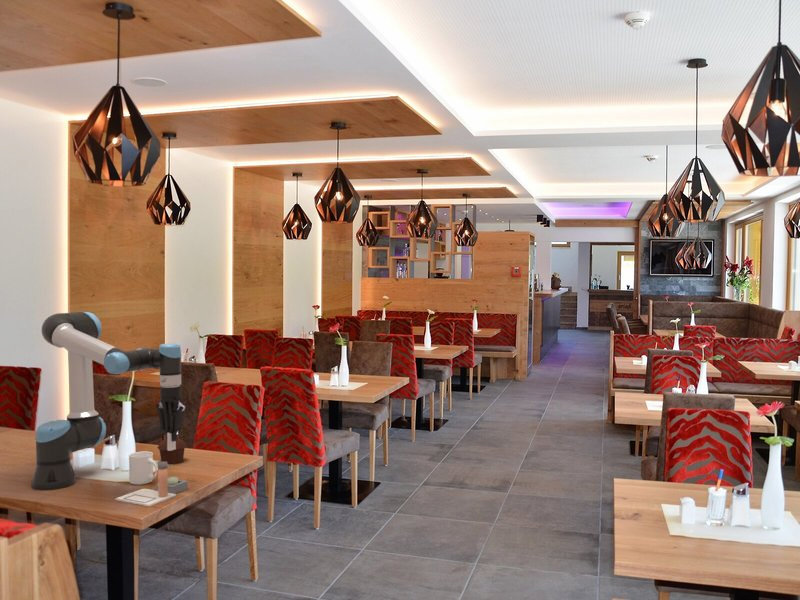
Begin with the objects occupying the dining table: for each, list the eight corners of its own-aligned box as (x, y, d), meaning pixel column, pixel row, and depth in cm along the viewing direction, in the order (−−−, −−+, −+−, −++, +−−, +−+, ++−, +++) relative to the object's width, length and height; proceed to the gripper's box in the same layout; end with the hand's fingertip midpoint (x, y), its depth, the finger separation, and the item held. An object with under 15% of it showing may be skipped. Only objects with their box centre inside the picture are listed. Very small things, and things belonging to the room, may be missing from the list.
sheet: (115, 500, 249) (115, 498, 249) (143, 489, 261) (143, 488, 261) (149, 506, 242) (149, 504, 242) (176, 495, 254) (176, 494, 254)
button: (162, 487, 259) (162, 479, 259) (171, 484, 263) (171, 476, 263) (172, 489, 257) (171, 480, 257) (180, 485, 261) (180, 477, 261)
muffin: (186, 457, 308) (186, 434, 307) (187, 463, 297) (186, 440, 297) (157, 459, 304) (157, 436, 303) (157, 466, 293) (156, 442, 293)
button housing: (155, 492, 258) (155, 484, 258) (171, 486, 266) (171, 478, 266) (172, 495, 255) (172, 486, 255) (187, 489, 262) (187, 481, 262)
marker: (156, 496, 251) (155, 463, 251) (163, 494, 254) (162, 461, 254) (162, 498, 250) (162, 464, 249) (169, 495, 253) (169, 462, 252)
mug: (148, 487, 264) (148, 458, 264) (124, 483, 269) (124, 455, 269) (165, 481, 272) (164, 453, 272) (141, 477, 277) (140, 450, 277)
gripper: (149, 386, 258) (150, 450, 259) (176, 388, 253) (177, 454, 253) (164, 383, 265) (165, 445, 266) (191, 385, 259) (192, 449, 260)
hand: (171, 449), depth 260 cm, fingers closed
